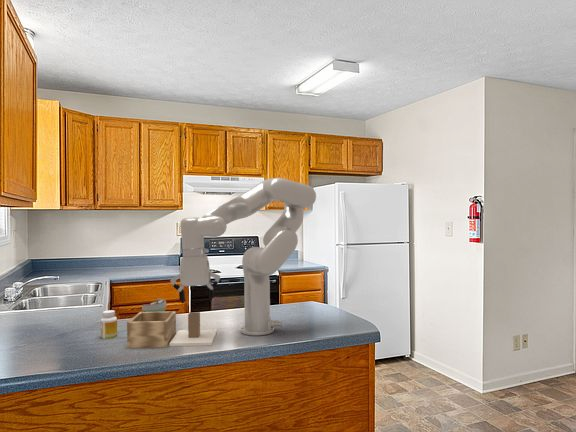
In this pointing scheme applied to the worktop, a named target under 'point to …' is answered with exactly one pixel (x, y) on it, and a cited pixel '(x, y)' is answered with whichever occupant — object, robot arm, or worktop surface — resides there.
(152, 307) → the food container
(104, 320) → the supplement bottle
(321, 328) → the worktop surface
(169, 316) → the oak box
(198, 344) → the lid
